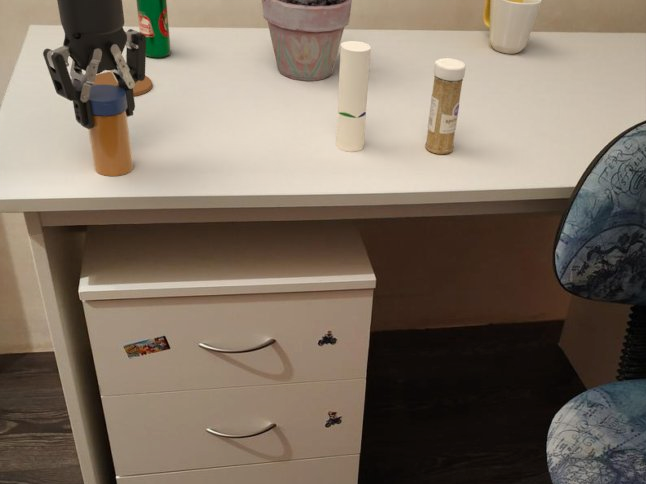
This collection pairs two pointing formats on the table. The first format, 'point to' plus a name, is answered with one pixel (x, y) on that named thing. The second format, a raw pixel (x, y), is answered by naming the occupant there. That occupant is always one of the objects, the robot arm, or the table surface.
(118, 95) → the jar lid
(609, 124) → the table surface
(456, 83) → the sprinkles bottle
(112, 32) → the robot arm
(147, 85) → the coaster
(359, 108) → the tube
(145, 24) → the soda can
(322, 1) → the potted plant
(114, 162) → the jar
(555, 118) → the table surface
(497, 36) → the mug
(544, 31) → the table surface
